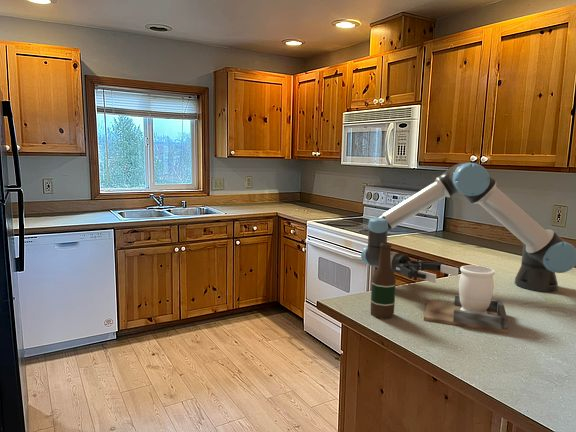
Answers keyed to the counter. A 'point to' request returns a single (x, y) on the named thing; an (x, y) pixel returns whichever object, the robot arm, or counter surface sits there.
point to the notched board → (448, 315)
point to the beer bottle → (383, 286)
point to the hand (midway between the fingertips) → (447, 275)
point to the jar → (476, 288)
